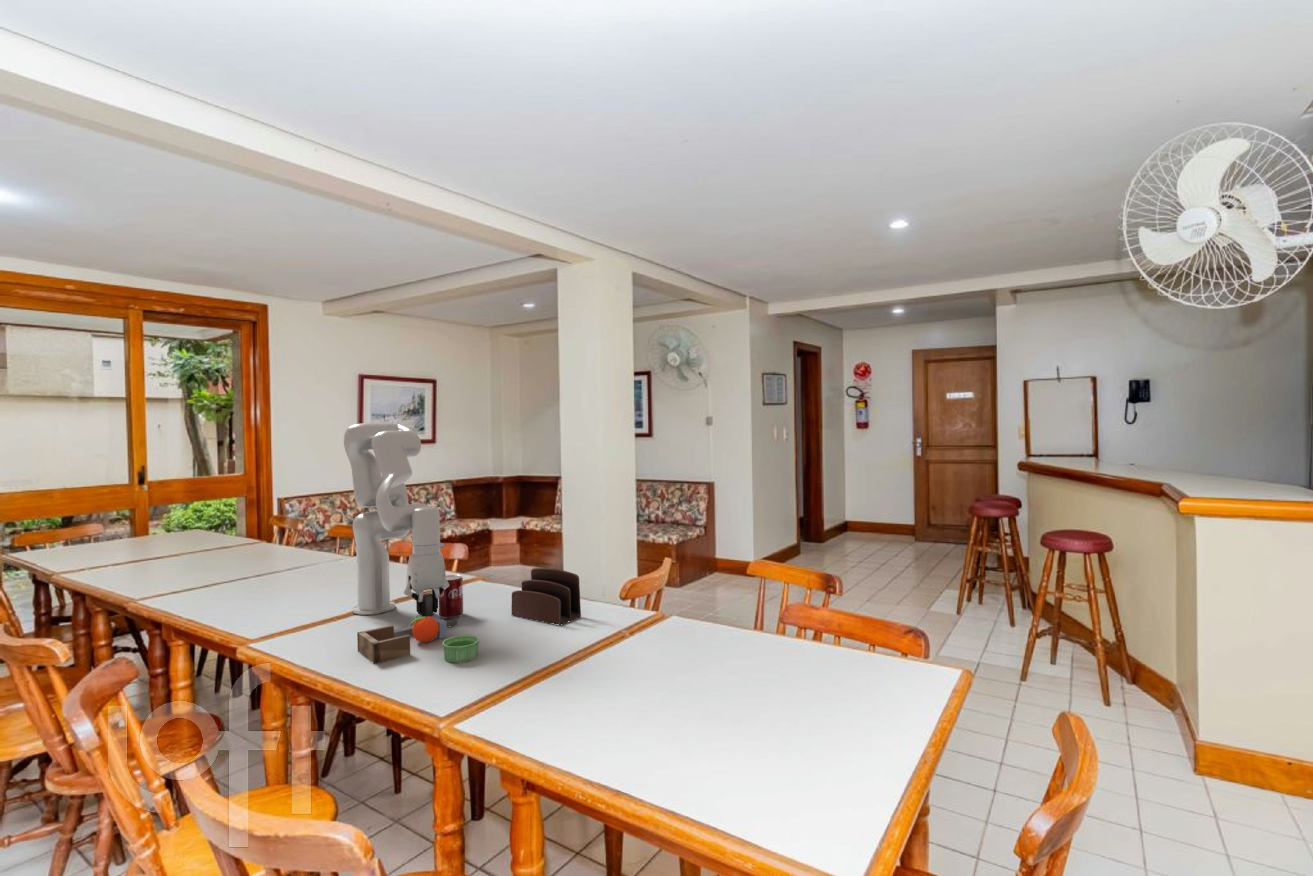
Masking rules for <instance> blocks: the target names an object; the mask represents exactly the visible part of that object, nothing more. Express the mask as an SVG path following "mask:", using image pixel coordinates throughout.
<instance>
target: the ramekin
mask: <svg viewBox="0 0 1313 876" xmlns="http://www.w3.org/2000/svg"><path fill="white" fill-rule="evenodd" d="M479 642H480V638H479V636H476V635H471V634H464V635H463V634H460V635H456V636H452V637H448V638H446V639H444V640H443V641H442V647H443V654H444V656H443V657H444V660H445V661H446V662H448V663H451V662H453V664H458V663H459V662H462V663H466V661H467V662H470V661H472V660H475V659H476V658H477V657H478V654H479ZM459 664H460V663H459Z"/></svg>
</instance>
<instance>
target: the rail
mask: <svg viewBox="0 0 1313 876" xmlns="http://www.w3.org/2000/svg"><path fill="white" fill-rule="evenodd" d="M442 619H443V620H445V621H446V628H447V627H448V628H450V627H449V626H452V627H455V625H457V626H458V617H457V618H455V617H453V616H452V617H448V618H440V620H442ZM413 625H414V624H413ZM413 625H407V626H404V627H403V626H402V627H399V628H394V638H395V637H400V636H404V635H410V637H412V636H411V635H413V633H412V628H413ZM408 627H409V628H408ZM448 628H447V629H448Z"/></svg>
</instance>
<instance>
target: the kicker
mask: <svg viewBox="0 0 1313 876" xmlns="http://www.w3.org/2000/svg"><path fill="white" fill-rule="evenodd" d="M423 601H424V602H425V615H423V616H422V615H419V614H417V615H415V619H417V618H419V617H424V616H430V617H433V618H434V619H435V620H436V621H437V622H438V625H439V632H438V634H437V636H436V637H435V638H438V639H444V638H447V637H448V635H447V634H448V633H447V632H448V631H447V629H448V628H446V621H445V620H443V618H441V617H440V616H439V614H438V613H434V612H433V594H431V593H423ZM440 619H442V620H440Z"/></svg>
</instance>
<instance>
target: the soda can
mask: <svg viewBox="0 0 1313 876" xmlns="http://www.w3.org/2000/svg"><path fill="white" fill-rule="evenodd" d="M446 580H447V581H448V583H449V587H448V588H446V589H445V590H444V591H443V592H442V593H441V595H440V597H439V598H438V615H439V616H440V619H443V618H448V617H452V616H453V617H455V618H456V617H457V618H459V617H461V616H462V615H463V614H464V579H463V577H462V575H459V574H449V575H447V574H446Z"/></svg>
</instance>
